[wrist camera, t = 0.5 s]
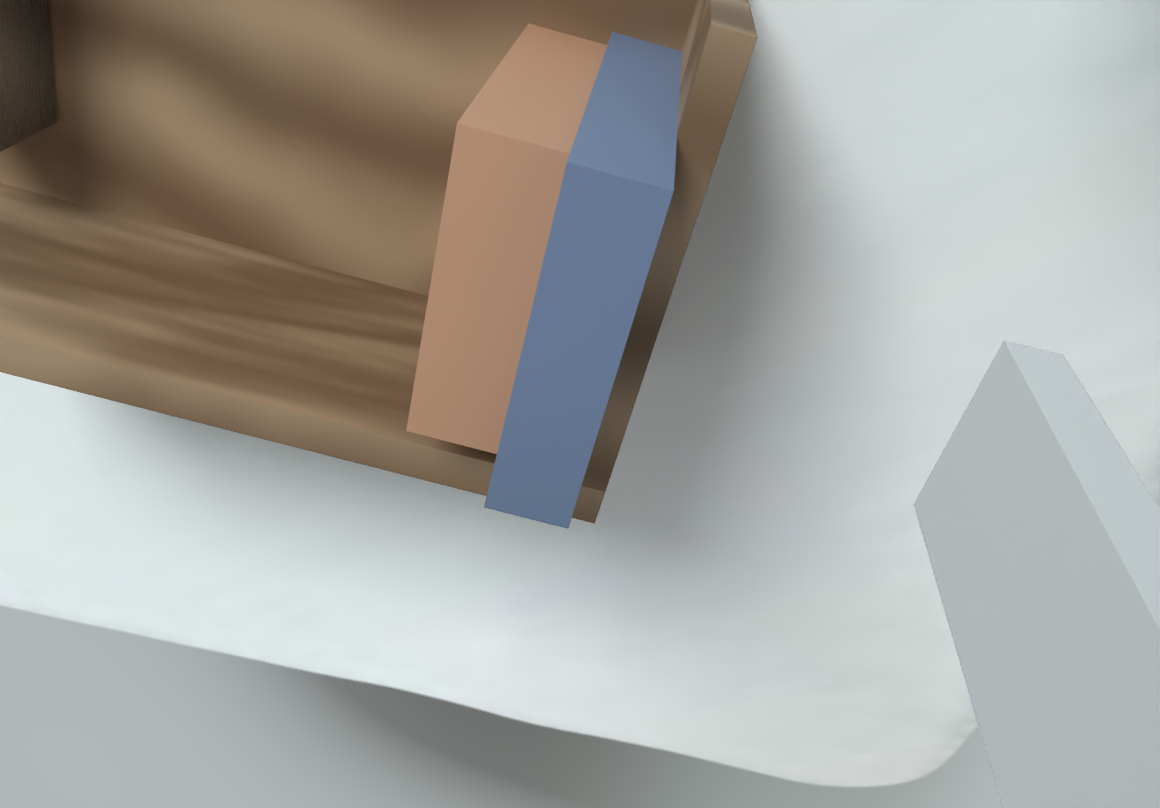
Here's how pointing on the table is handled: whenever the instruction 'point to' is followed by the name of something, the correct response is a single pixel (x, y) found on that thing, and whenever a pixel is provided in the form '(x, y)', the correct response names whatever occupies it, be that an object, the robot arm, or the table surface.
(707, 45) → the wooden book rack
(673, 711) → the table surface
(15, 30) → the grey rectangular block
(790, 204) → the table surface
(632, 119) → the books
